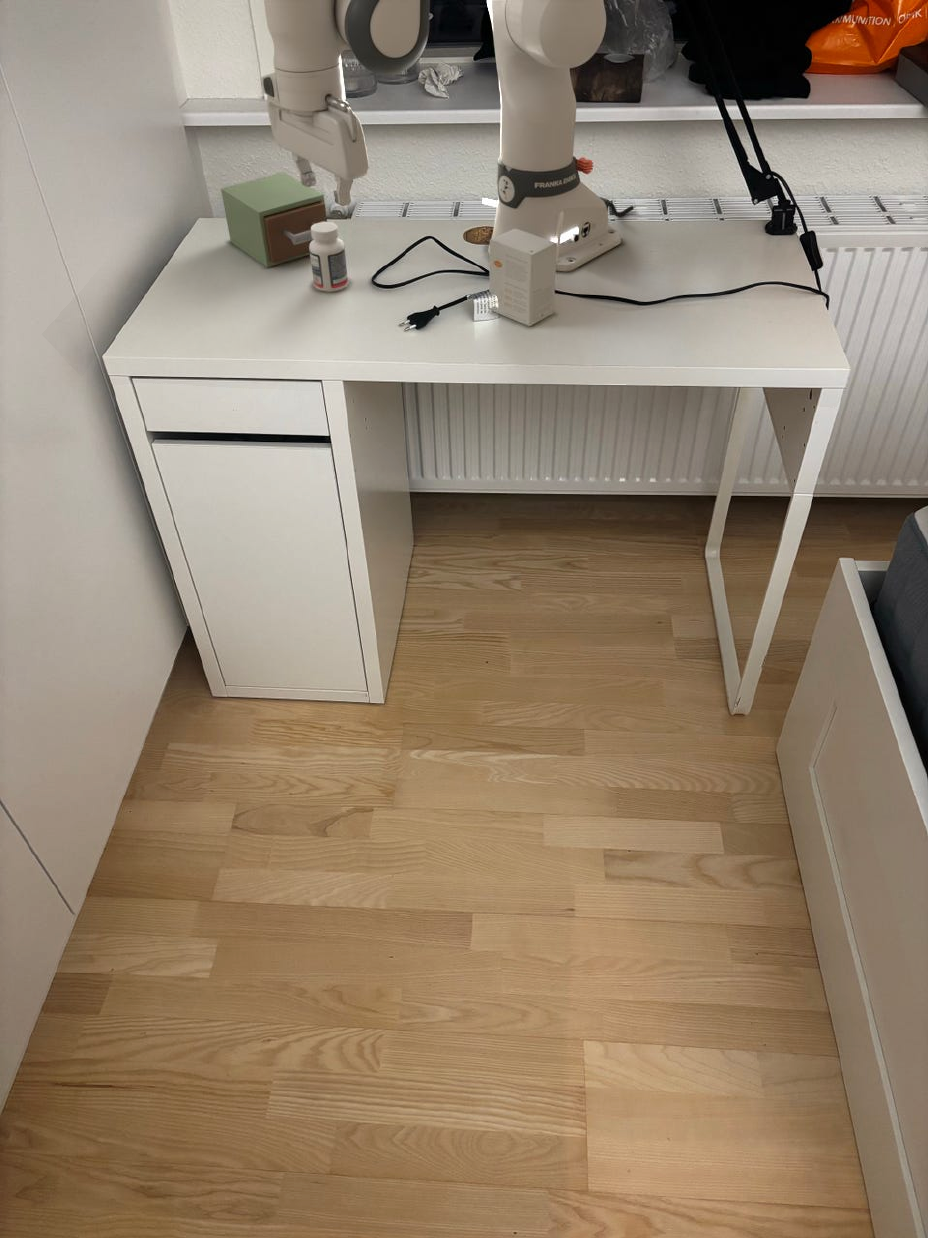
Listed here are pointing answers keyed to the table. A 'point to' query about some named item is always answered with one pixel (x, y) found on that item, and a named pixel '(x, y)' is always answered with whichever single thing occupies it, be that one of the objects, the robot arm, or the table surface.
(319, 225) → the pill bottle
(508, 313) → the small box
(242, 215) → the cabinet
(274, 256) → the drawer
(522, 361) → the table surface
